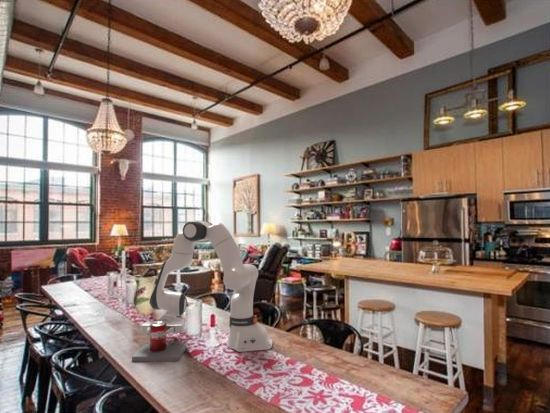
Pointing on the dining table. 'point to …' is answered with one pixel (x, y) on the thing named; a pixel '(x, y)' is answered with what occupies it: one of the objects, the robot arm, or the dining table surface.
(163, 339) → the soda can
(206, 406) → the dining table surface
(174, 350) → the serving board
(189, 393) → the dining table surface
